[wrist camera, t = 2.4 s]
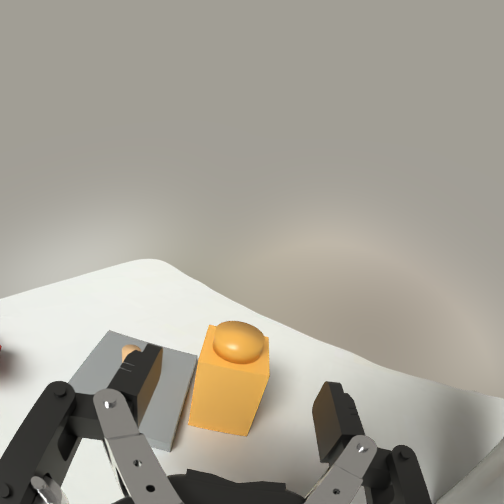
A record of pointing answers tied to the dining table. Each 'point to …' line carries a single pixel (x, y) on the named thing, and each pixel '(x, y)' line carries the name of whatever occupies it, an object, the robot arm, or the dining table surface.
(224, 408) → the tall orange stud brick
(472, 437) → the dining table surface
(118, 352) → the base
